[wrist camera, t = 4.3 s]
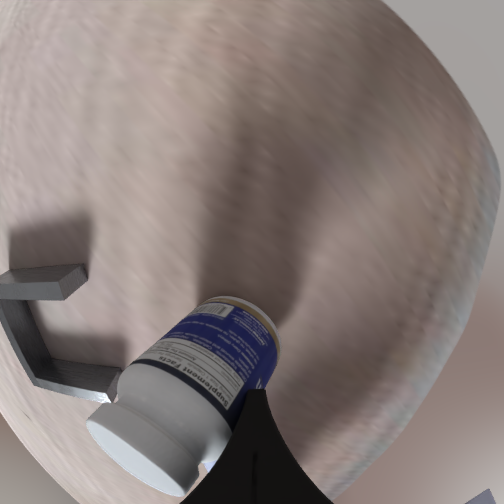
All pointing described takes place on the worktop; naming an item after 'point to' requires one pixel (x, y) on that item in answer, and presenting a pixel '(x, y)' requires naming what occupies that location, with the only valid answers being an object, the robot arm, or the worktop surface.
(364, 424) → the worktop surface
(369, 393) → the worktop surface
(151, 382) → the pill bottle
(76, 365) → the metal u-channel bracket
